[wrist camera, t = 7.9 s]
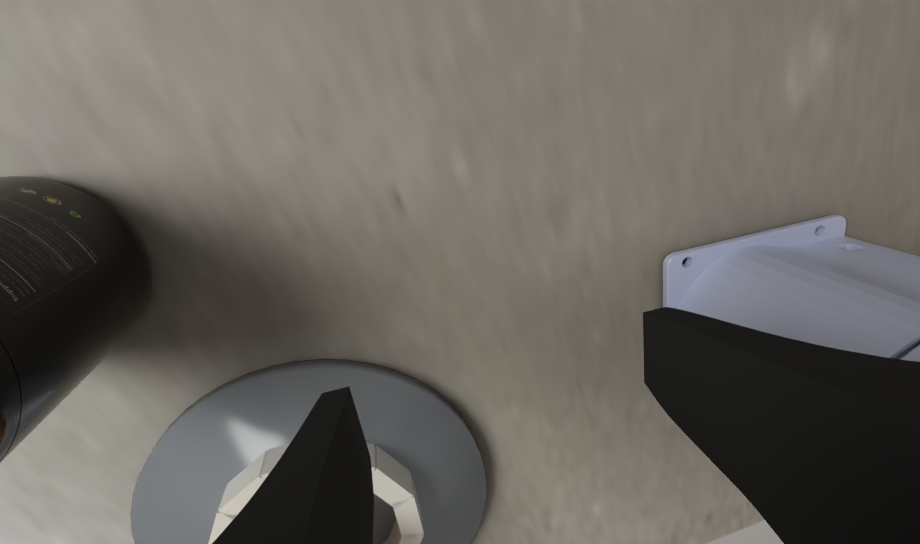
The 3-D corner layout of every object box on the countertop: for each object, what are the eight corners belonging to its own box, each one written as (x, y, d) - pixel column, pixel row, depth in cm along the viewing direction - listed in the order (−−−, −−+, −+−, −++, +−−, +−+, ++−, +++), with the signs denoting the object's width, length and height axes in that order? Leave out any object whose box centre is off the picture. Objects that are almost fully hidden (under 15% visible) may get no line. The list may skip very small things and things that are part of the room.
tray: (455, 322, 21) (465, 346, 19) (501, 566, 27) (513, 606, 24) (72, 414, 19) (35, 453, 17) (213, 656, 25) (198, 708, 22)
